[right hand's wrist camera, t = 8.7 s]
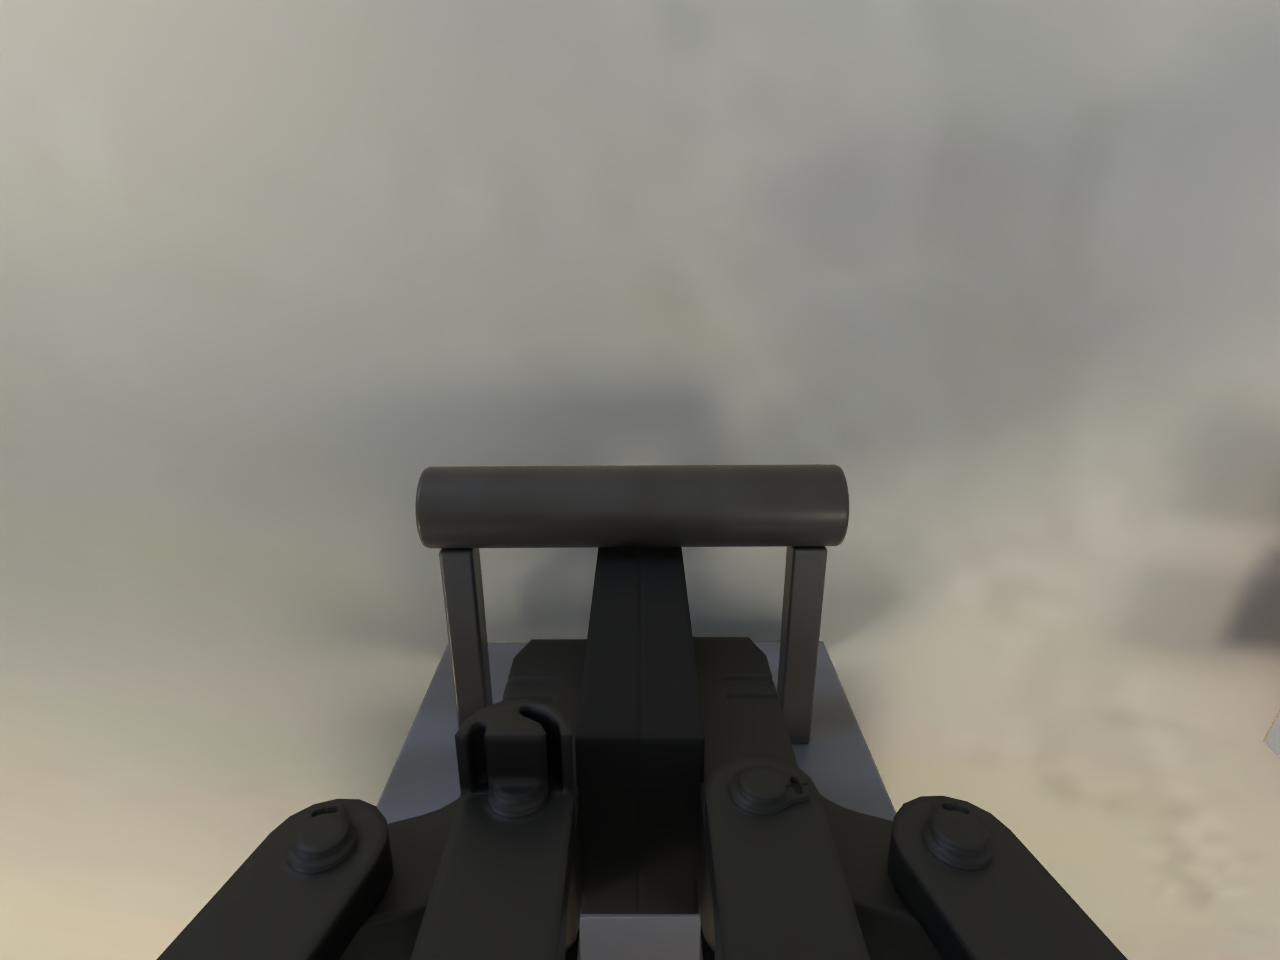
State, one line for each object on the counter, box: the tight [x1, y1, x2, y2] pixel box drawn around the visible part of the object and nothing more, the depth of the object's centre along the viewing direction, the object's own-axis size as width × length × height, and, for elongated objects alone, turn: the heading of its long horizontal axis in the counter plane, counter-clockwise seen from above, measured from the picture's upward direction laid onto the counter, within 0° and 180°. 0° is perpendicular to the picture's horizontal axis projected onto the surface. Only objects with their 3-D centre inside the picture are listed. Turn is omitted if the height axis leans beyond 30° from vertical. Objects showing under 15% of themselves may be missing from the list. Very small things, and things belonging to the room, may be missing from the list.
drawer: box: [377, 465, 896, 960], centre depth 16 cm, size 21×9×7 cm, turn 0°
